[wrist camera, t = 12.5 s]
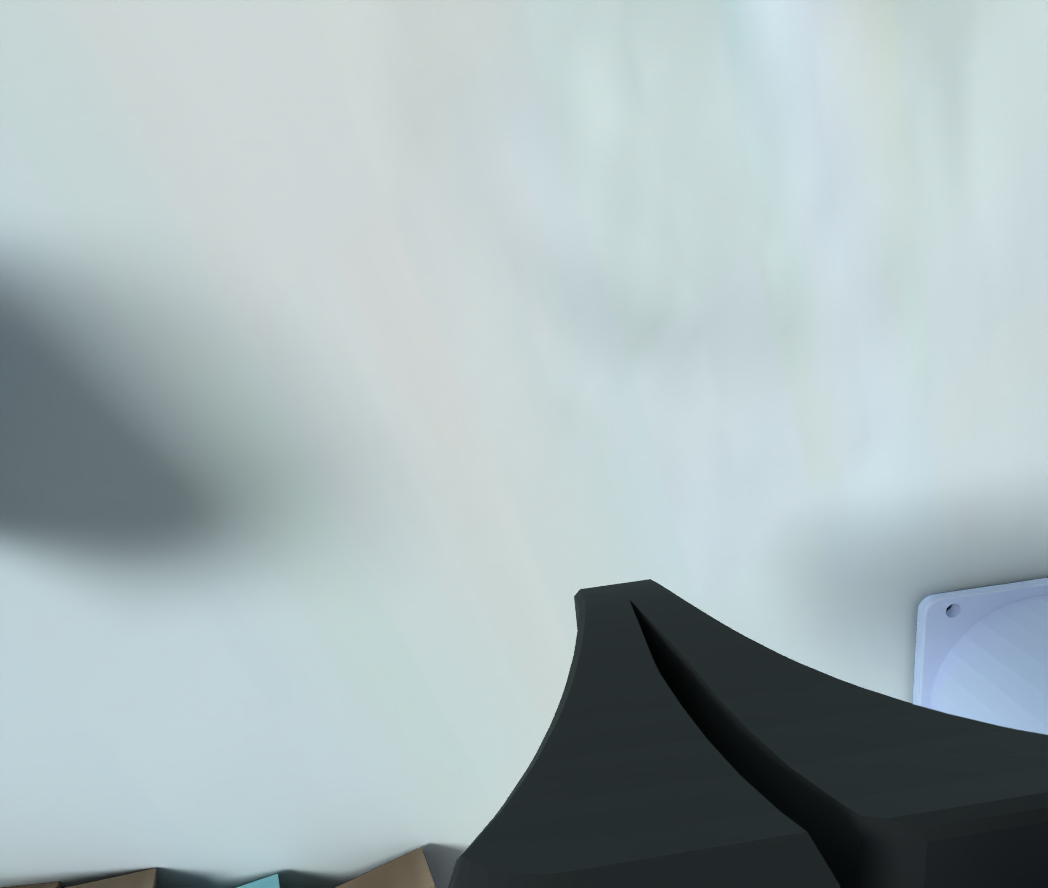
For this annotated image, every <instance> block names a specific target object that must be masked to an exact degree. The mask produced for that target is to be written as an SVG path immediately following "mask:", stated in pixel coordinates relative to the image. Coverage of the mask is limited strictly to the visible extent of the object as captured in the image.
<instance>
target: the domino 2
mask: <svg viewBox="0 0 1048 888" xmlns="http://www.w3.org/2000/svg"><path fill="white" fill-rule="evenodd" d="M236 888H280V887H279V879H278V874H275V875H272V876H269V877H266V878H263V879H260V880H257V881H254V882H251V883H248V884H245V885H242V886H239V887H236Z"/></svg>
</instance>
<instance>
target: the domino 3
mask: <svg viewBox="0 0 1048 888" xmlns="http://www.w3.org/2000/svg"><path fill="white" fill-rule="evenodd" d="M336 888H435V884H434V881H433V879H432V876H431V873H430V870H429V867H428V864H427V861H426V859H425V856H424V853H423V850H422V847H421V848H419V849H417V850H415V851H412V852H410V853H408V854H406V855H404V856H402V857H400V858H398V859H395V860H393V861H391V862H389V863H387V864H385V865H383V866H380V867H378V868H376V869H374V870H372V871H370V872H368V873H365V874H363V875H361V876H359V877H357V878H355V879H353V880H350V881H348V882H346V883H344V884H342V885H340V886H338V887H336Z"/></svg>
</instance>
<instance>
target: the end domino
mask: <svg viewBox="0 0 1048 888" xmlns="http://www.w3.org/2000/svg"><path fill="white" fill-rule="evenodd" d="M2 888H61V885H60V882H51V883H41V884H31V885H22V886H12V887H2Z"/></svg>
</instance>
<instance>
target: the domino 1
mask: <svg viewBox="0 0 1048 888" xmlns="http://www.w3.org/2000/svg"><path fill="white" fill-rule="evenodd" d="M66 888H157V872H156V868H153V869H149V870H144V871H140V872H135V873H130V874H126V875H121V876H117V877H112V878H108V879H103V880H98V881H94V882H89V883H85V884H80V885H75V886H71V887H66Z"/></svg>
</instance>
